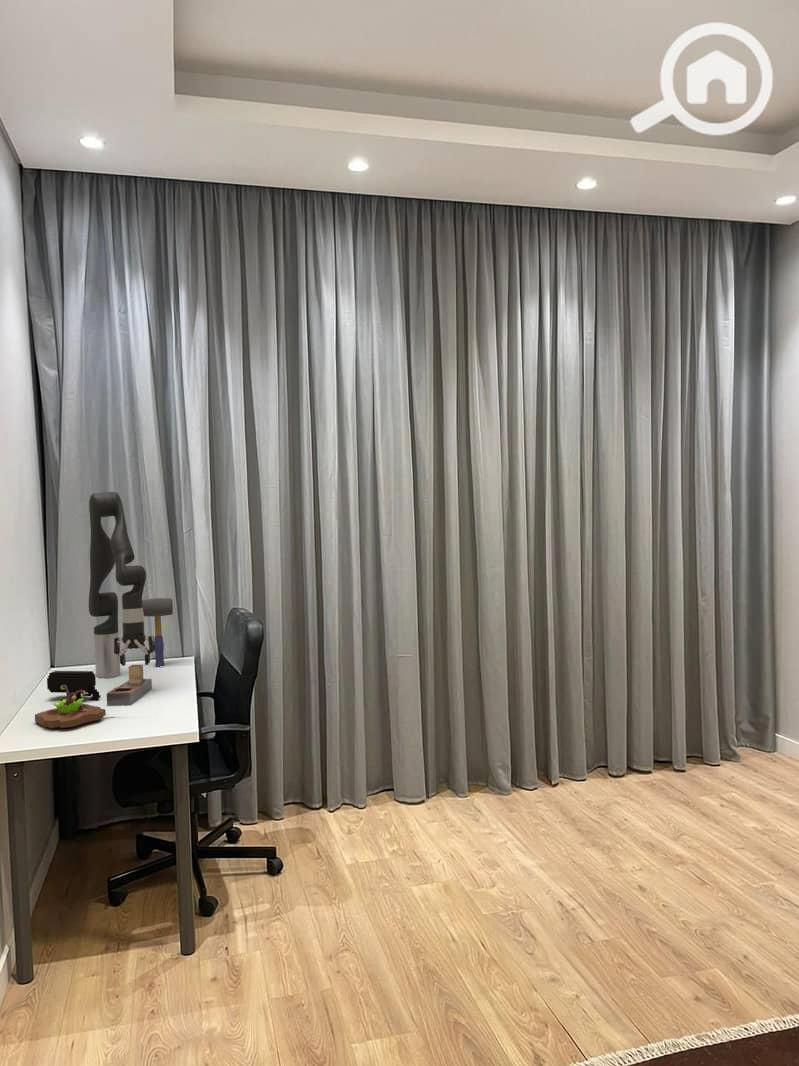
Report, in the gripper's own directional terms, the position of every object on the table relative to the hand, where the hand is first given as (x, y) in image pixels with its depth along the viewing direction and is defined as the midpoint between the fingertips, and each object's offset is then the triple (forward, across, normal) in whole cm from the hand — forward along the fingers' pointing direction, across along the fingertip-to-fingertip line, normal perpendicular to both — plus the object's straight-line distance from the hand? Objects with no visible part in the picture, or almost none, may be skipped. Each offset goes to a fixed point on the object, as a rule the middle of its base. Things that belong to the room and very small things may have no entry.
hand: (135, 665), depth 311 cm
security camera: (+10, +19, +8) cm, 23 cm away
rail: (+10, 0, +6) cm, 12 cm away
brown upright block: (+9, 0, 0) cm, 9 cm away
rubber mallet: (+10, +4, -42) cm, 43 cm away
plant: (+11, +10, +34) cm, 38 cm away
